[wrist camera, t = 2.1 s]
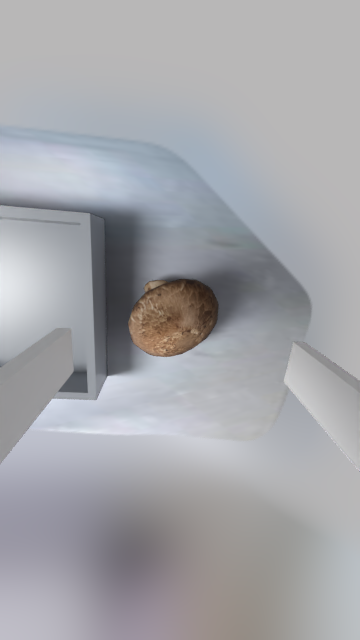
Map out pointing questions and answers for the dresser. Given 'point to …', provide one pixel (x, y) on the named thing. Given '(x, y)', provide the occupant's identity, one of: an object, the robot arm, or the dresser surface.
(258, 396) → the dresser surface
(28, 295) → the tray
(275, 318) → the dresser surface
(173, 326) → the mushroom
